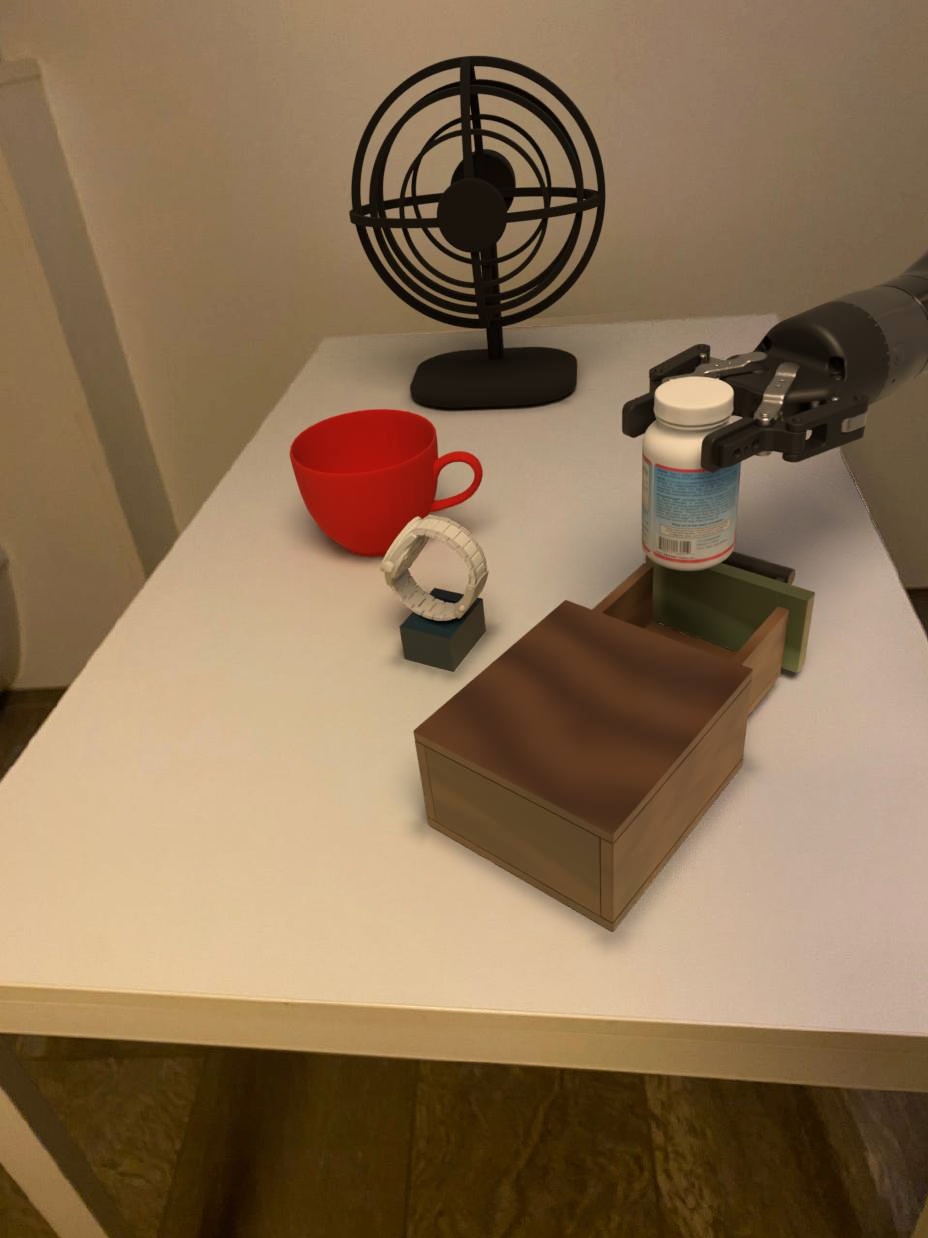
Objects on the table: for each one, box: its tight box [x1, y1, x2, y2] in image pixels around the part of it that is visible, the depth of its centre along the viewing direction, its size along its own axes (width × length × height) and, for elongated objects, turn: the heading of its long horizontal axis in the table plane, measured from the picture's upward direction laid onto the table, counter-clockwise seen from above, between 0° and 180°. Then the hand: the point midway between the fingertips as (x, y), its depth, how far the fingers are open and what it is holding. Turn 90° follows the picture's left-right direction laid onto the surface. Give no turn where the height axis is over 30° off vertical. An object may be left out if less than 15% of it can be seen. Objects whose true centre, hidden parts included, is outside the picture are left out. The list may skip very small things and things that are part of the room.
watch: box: [379, 514, 490, 672], centre depth 72 cm, size 6×8×11 cm
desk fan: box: [348, 55, 607, 409], centre depth 105 cm, size 27×18×35 cm, turn 84°
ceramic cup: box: [289, 408, 484, 557], centre depth 86 cm, size 13×17×10 cm
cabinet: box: [412, 599, 753, 932], centre depth 59 cm, size 16×14×8 cm
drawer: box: [591, 550, 816, 716], centre depth 67 cm, size 19×12×6 cm, turn 141°
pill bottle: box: [641, 377, 742, 571], centre depth 61 cm, size 6×6×11 cm
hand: (664, 438), depth 58 cm, fingers closed on pill bottle, 6 cm apart
